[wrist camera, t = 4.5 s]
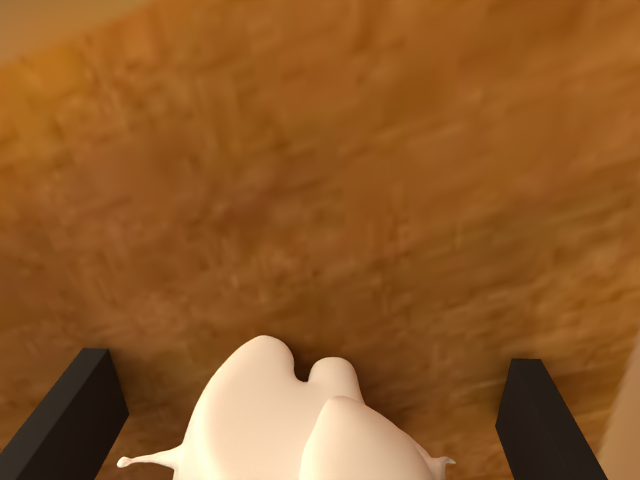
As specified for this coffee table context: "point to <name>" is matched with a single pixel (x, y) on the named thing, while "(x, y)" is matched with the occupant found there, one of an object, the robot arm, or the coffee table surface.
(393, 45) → the coffee table surface
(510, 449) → the robot arm
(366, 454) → the elephant figurine
